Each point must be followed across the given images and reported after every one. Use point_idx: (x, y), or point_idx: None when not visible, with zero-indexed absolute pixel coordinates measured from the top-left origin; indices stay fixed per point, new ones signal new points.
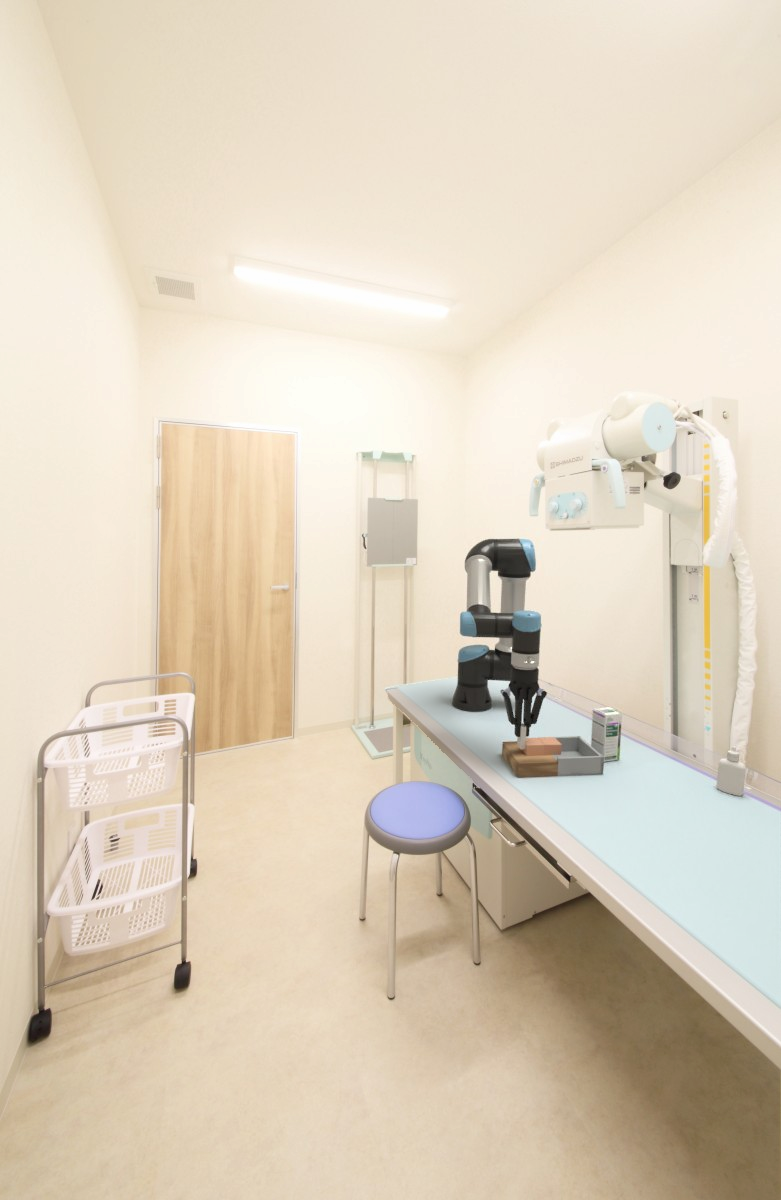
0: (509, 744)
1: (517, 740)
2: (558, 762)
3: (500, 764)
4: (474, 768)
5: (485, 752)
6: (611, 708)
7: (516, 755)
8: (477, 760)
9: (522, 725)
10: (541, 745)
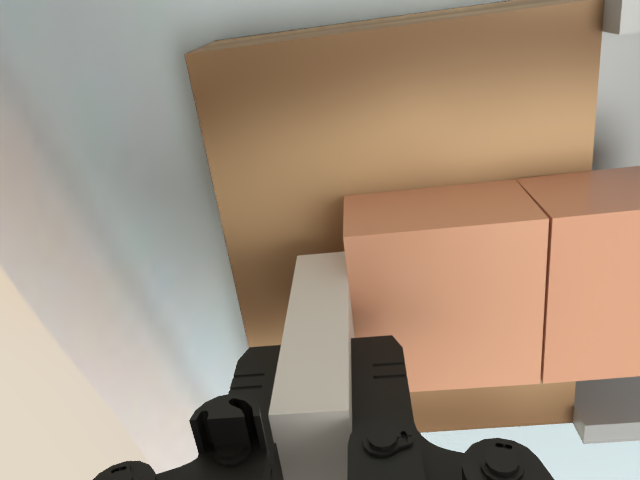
0: (250, 120)
1: (293, 286)
2: (573, 419)
3: (186, 215)
4: (7, 275)
5: (71, 3)
6: None
7: (275, 334)
8: (16, 159)
9: (320, 474)
10: (507, 382)
